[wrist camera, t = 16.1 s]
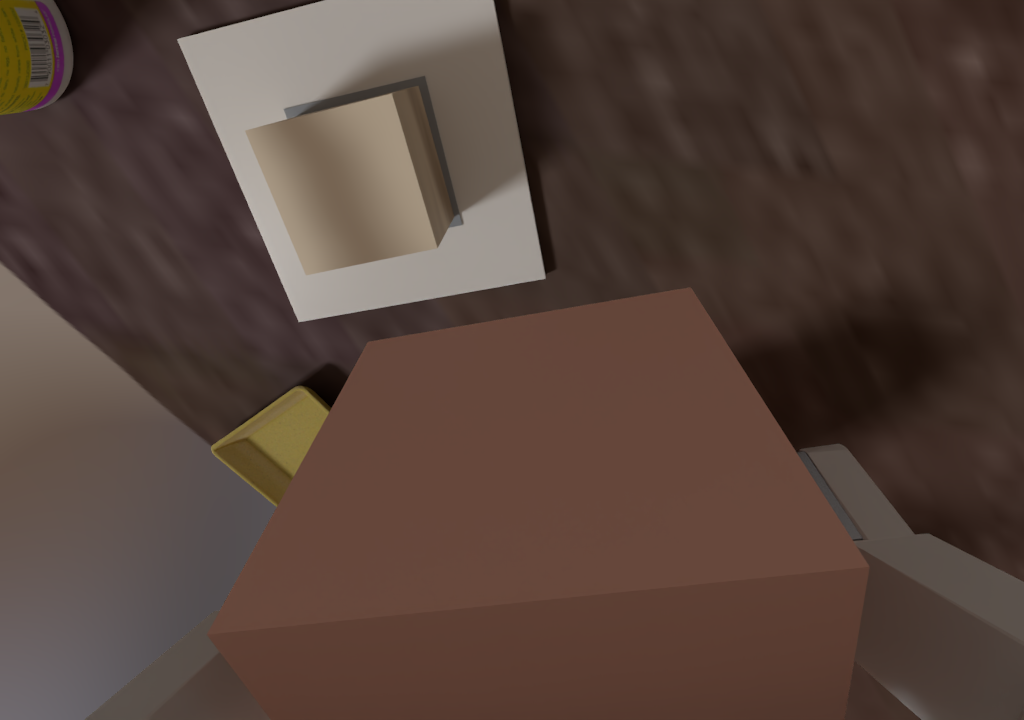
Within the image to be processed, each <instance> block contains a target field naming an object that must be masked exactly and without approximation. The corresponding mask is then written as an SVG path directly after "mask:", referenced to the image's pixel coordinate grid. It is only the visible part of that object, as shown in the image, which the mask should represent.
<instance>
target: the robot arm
mask: <svg viewBox="0 0 1024 720" xmlns="http://www.w3.org/2000/svg"><path fill="white" fill-rule="evenodd" d="M795 451H796V453H797V454H798V456H799V457H800V459H801V460H802V462H803V463H804V465H805V467H806V468H807V470H808V471H809V473H810V474H811V476H812V478H813V479H814V481H815V482H816V484H817V485H818V487H819V488H820V490H821V492H822V493H823V495H824V496H825V498H826V499H827V501H828V502H829V504H830V506H831V507H832V509H833V510H834V512H835V513H836V515H837V517H838V518H839V520H840V521H841V523H842V524H843V526H844V527H845V529H846V531H847V532H848V534H849V535H850V537H851V538H852V540H853V542H854V543H855V545H856V546H857V548H858V549H859V551H860V552H861V554H862V556H863V557H864V559H865V560H866V562H867V563H868V565H869V566H870V568H869V574H868V580H867V586H866V592H865V598H864V604H863V610H862V616H861V622H860V628H859V634H858V640H857V646H856V653H855V659H854V661H855V662H856V663H858V664H859V665H860V666H861V667H862V668H863V669H864V670H866V671H867V672H868V673H869V674H870V675H871V676H872V677H874V678H875V679H876V680H877V681H878V682H879V683H880V684H882V685H883V686H884V687H885V688H886V689H887V690H888V691H890V692H891V693H892V694H893V695H894V696H895V697H896V698H898V699H899V700H900V701H901V702H902V703H903V704H904V705H906V706H907V707H908V708H909V709H910V710H911V711H912V712H914V713H915V714H916V715H917V716H918V717H919V718H920V719H922V720H1024V582H1023V581H1021V580H1019V579H1017V578H1015V577H1013V576H1011V575H1009V574H1007V573H1005V572H1003V571H1001V570H999V569H997V568H995V567H993V566H991V565H989V564H987V563H985V562H984V561H982V560H980V559H978V558H976V557H974V556H972V555H970V554H968V553H966V552H964V551H962V550H960V549H958V548H956V547H954V546H952V545H950V544H948V543H946V542H944V541H942V540H940V539H938V538H937V537H935V536H933V535H931V534H929V533H928V534H916V535H915V534H914V533H913V531H912V530H911V529H910V528H909V526H908V525H907V524H906V523H905V521H904V520H903V519H902V517H901V516H900V515H899V514H898V512H897V511H896V510H895V509H894V507H893V506H892V505H891V503H890V502H889V501H888V500H887V498H886V497H885V496H884V495H883V493H882V492H881V491H880V489H879V488H878V487H877V486H876V484H875V483H874V482H873V481H872V479H871V478H870V477H869V476H868V474H867V473H866V472H865V470H864V469H863V468H862V467H861V465H860V464H859V463H858V462H857V460H856V459H855V458H854V456H853V455H852V454H851V453H850V451H849V450H848V449H847V448H846V447H845V446H843V445H841V444H832V445H825V446H818V447H811V448H805V449H800V450H799V451H798V450H795ZM218 613H219V611H214V612H213V613H212V614H210V615H209V616H208V617H207V618H206V619H204V620H203V621H202V622H201V623H200V624H198V625H197V626H196V627H195V628H194V629H192V630H191V631H190V632H189V633H188V634H186V635H185V636H184V637H183V638H182V639H181V640H179V641H178V642H177V643H176V644H175V645H173V646H172V647H171V648H170V649H169V650H167V651H166V652H165V653H164V654H163V655H161V656H160V657H159V658H158V659H157V660H155V661H154V662H153V663H152V664H151V665H149V666H148V667H147V668H146V669H145V670H143V671H142V672H141V673H140V674H139V675H138V676H136V677H135V678H134V679H133V680H131V681H130V682H129V683H128V684H127V685H126V686H124V687H123V688H122V689H121V690H120V691H119V692H117V693H116V694H115V695H114V696H112V697H111V698H110V699H109V700H108V701H106V702H105V703H104V704H103V705H102V706H100V707H99V708H98V709H97V710H96V711H94V712H93V713H92V714H91V715H90V716H89V717H87V718H86V719H85V720H271V719H270V718H269V717H268V715H267V714H266V713H265V711H264V710H263V709H262V707H261V706H260V705H259V703H258V702H257V701H256V699H255V698H254V697H253V695H252V694H251V693H250V692H249V690H248V689H247V688H246V686H245V685H244V684H243V682H242V681H241V680H240V678H239V677H238V676H237V674H236V673H235V672H234V670H233V669H232V668H231V666H230V665H229V664H228V662H227V661H226V660H225V658H224V657H223V656H222V654H221V653H220V652H219V650H218V649H217V648H216V646H215V645H214V644H213V642H212V641H211V640H210V638H209V637H208V636H207V633H208V631H209V629H210V628H211V626H212V624H213V622H214V620H215V619H216V617H217V615H218Z"/></svg>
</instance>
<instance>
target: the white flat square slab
mask: <svg viewBox="0 0 1024 720" xmlns="http://www.w3.org/2000/svg"><path fill="white" fill-rule="evenodd" d="M177 40H178V43H179V45H180V47H181V50H182V52H183V54H184V56H185V59H186V61H187V63H188V66H189V68H190V70H191V73H192V75H193V77H194V80H195V82H196V84H197V87H198V89H199V91H200V94H201V96H202V98H203V101H204V103H205V105H206V108H207V110H208V112H209V115H210V117H211V119H212V122H213V124H214V126H215V128H216V131H217V133H218V135H219V138H220V140H221V142H222V145H223V147H224V149H225V152H226V154H227V156H228V159H229V161H230V163H231V166H232V168H233V170H234V173H235V175H236V177H237V180H238V182H239V184H240V187H241V189H242V191H243V194H244V196H245V198H246V200H247V203H248V205H249V207H250V210H251V212H252V214H253V217H254V219H255V221H256V224H257V226H258V228H259V231H260V233H261V235H262V238H263V240H264V242H265V245H266V247H267V249H268V252H269V254H270V256H271V259H272V261H273V263H274V265H275V268H276V270H277V272H278V275H279V277H280V279H281V282H282V284H283V286H284V289H285V291H286V293H287V296H288V298H289V300H290V303H291V305H292V307H293V310H294V312H295V314H296V317H297V319H298V321H299V322H302V321H308V320H314V319H319V318H325V317H331V316H336V315H342V314H348V313H353V312H359V311H365V310H370V309H376V308H382V307H387V306H393V305H399V304H404V303H410V302H416V301H421V300H427V299H433V298H438V297H444V296H450V295H456V294H461V293H467V292H473V291H478V290H484V289H490V288H495V287H501V286H507V285H512V284H518V283H524V282H529V281H535V280H541V279H546V274H545V269H544V263H543V258H542V253H541V247H540V242H539V237H538V231H537V226H536V221H535V215H534V210H533V205H532V199H531V194H530V188H529V183H528V178H527V172H526V167H525V162H524V156H523V151H522V146H521V140H520V135H519V130H518V124H517V119H516V114H515V108H514V103H513V98H512V92H511V87H510V82H509V76H508V71H507V66H506V60H505V55H504V50H503V44H502V39H501V34H500V28H499V23H498V18H497V12H496V7H495V2H494V0H324V1H320V2H316V3H312V4H309V5H305V6H301V7H297V8H294V9H290V10H286V11H282V12H278V13H275V14H271V15H267V16H263V17H259V18H256V19H252V20H248V21H244V22H241V23H237V24H233V25H229V26H225V27H222V28H218V29H214V30H210V31H206V32H203V33H199V34H195V35H191V36H188V37H184V38H180V39H177ZM415 86H419V89H420V93H421V96H422V100H423V104H424V107H425V111H426V115H427V118H428V122H429V126H430V129H431V133H432V137H433V140H434V144H435V148H436V151H437V155H438V159H439V162H440V166H441V170H442V173H443V177H444V181H445V184H446V188H447V192H448V195H449V199H450V203H451V206H452V210H453V213H454V218H453V220H452V222H451V224H450V226H449V228H448V230H447V232H446V233H445V235H444V237H443V239H442V241H441V243H440V245H439V247H438V248H437V249H432V250H427V251H422V252H417V253H412V254H407V255H403V256H398V257H393V258H388V259H383V260H378V261H373V262H369V263H364V264H359V265H354V266H349V267H344V268H339V269H335V270H330V271H325V272H320V273H315V274H310V275H306V274H305V272H304V270H303V267H302V265H301V262H300V260H299V258H298V255H297V253H296V251H295V248H294V246H293V244H292V241H291V239H290V236H289V234H288V232H287V229H286V227H285V225H284V222H283V220H282V218H281V215H280V213H279V210H278V208H277V206H276V203H275V201H274V199H273V196H272V194H271V191H270V189H269V187H268V184H267V182H266V180H265V177H264V175H263V173H262V170H261V168H260V165H259V163H258V161H257V158H256V156H255V154H254V151H253V149H252V147H251V144H250V142H249V139H248V137H247V135H246V132H245V131H246V130H249V129H253V128H256V127H260V126H264V125H267V124H271V123H275V122H278V121H282V120H286V119H289V118H293V117H297V116H301V115H305V114H308V113H312V112H316V111H320V110H324V109H328V108H332V107H336V106H340V105H344V104H348V103H352V102H356V101H360V100H364V99H368V98H372V97H375V96H379V95H383V94H387V93H391V92H395V91H399V90H403V89H407V88H411V87H415Z"/></svg>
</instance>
